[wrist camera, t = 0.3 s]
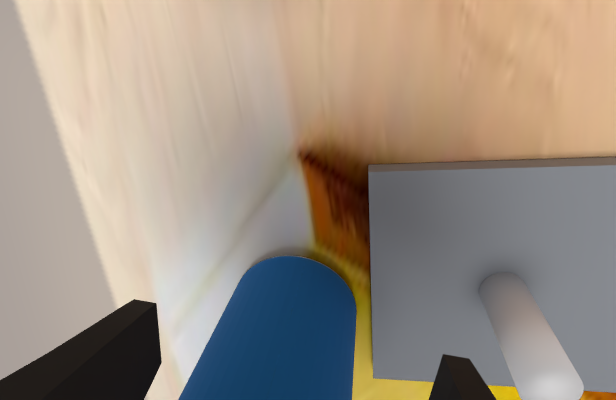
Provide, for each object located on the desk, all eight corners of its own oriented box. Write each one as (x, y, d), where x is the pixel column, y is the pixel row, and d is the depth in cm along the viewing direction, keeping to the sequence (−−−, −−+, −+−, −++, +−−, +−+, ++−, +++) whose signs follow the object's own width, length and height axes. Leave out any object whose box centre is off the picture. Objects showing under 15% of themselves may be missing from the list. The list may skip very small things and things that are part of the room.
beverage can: (302, 361, 23) (241, 654, 12) (217, 295, 22) (70, 552, 11) (382, 302, 21) (394, 606, 10) (291, 224, 20) (191, 468, 9)
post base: (606, 376, 21) (700, 517, 15) (373, 364, 23) (373, 483, 17) (671, 155, 16) (847, 232, 10) (368, 164, 18) (366, 233, 12)
